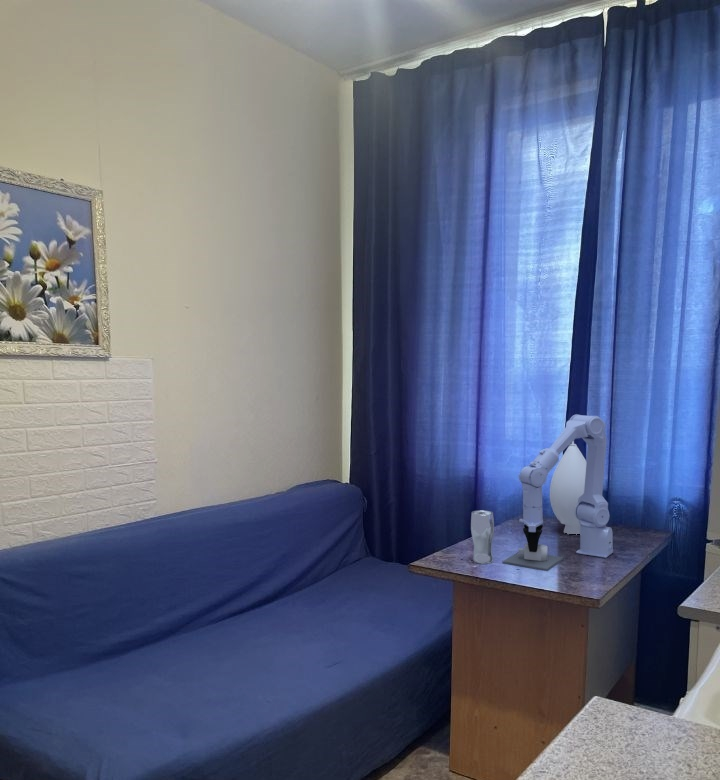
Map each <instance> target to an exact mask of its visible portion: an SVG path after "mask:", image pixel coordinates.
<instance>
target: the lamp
mask: <svg viewBox="0 0 720 780" xmlns="http://www.w3.org/2000/svg"><path fill="white" fill-rule="evenodd" d="M586 463H587V459H586V458H585V457H584V455H583V453H582V452H581V451H580V449H579V447H578V446H577V444H576V443H575V440H574V441H573V442H572V443H571V444H570V445H569V446H568V447H567V449H566V450H565V451H564V453H563V455H562V456H561V458H560V459H559V461H558V463H557V464H556V465H557V466H556V468H555V469H554V472H553V475H552V477H551V481H550V485H549V501H550V505H551V509H552V511H553V513H554V515H555V517H556V519H557V520H558V521H559V523H560V524H562V525H565V526H564V528H563V533H564V534H565V533H567V534H566V535H569V534H576V535H575V536H578V535H577V534H580V523H579V520H578V519H577V518H576V516H575V508H576V506H577V504H578V498H579V497H580V496H581V495H583V494H584V487H585V475H586ZM590 504H591V503H590Z"/></svg>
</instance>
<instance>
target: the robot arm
mask: <svg viewBox="0 0 720 780" xmlns="http://www.w3.org/2000/svg"><path fill="white" fill-rule="evenodd" d="M606 436H607V435H606V422H605V421H604V420H603V419H602V418H601V417H600V416H598V415H581V414H577V413H576V414H574V415H572V416H571V417H570V418H569V419H568V420H567V421H566V424H565V427H564V429H563V430H562V432H561V433H560V434H559V435H558V436H557V438H556V439H555V441H554V442H553V443H552V444H551V446H550V447H549V448H548V447H546V448H544V449H541V450H540V451H539V452H538V453H539V454H538V455H537V456H536V457H535V458H534V460H532V461H530V463H529V465H527V466H523V468H522V469H521V470H520V472H519V475H518V480H519V482H520V484H521V488H522V512H523V513H522V514H523V516H522V518H519V519H518V520H519V521H518V522H519V523H523V528H522V531H523V533H524V535H525V538H526V543H528V548H529V551H530V552H537V548H538V544H539V541H540V538H541V535H542V533H543V527H544V525H543V524H544V520H543V517H544V516H543V514H544V512H543V486H544V485H545V484H546V482H547V477H548V475H549V473H550V471H552V469H553V468H554V467H555V466H556V465H558V463H559V462H560V458H559V457H560V455H561V454H562V452H564V451H566V450H567V449H566V448H568V447H569V446H570V444H572V442H573V441H574V442H575V440H577V439H582V440H583V441H584V442H585V444H586V445H587V452H586V453H587V454H586V462H587V463H586V475H585V487H584V494H583V495H581V496H580V497H579V498H578V504H577V506H576V508H575V516H576V518H577V519H578V520H579V523H580V535H579V537H580V539H579V544H580V546H579V549H577V550H576V551H575V553H576V554H579V555H585V556H587V555H588V556H592V557H593V556H594V557H599V558H605V559H607V558H608V557H609V556H610V555H612V553H614V548H613V542H614V541H613V540H614V539H613V537H614V536H613V535H614V534H613V529H612V527H609V526H607V524H608V522H610V521H609V520H610V517H611V516H610V511H609V502H608V501H607V500H606V499H605V497H604V496H603V491H604V477H605V469H606V468H605V466H606V454H607V443H608V441H607V437H606ZM565 449H566V450H565ZM590 503H591V504H590Z"/></svg>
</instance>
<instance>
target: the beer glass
mask: <svg viewBox="0 0 720 780" xmlns="http://www.w3.org/2000/svg"><path fill="white" fill-rule="evenodd" d="M494 520H495V519H494V512H493V511H489V510H483V509H482V510H480V509H479V510H473V511H471V517H470V531H471V532H470V533H471V538H472V542H473V543H472V544H473V558H472V562H474V563H476V564H483V565H486V564H487V565H488V564H491V563H494V562H493V561H494V557H493V553H492V546H493V540H494V533H495V521H494Z"/></svg>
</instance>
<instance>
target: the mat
mask: <svg viewBox="0 0 720 780" xmlns="http://www.w3.org/2000/svg"><path fill="white" fill-rule="evenodd" d="M564 559H565V558H564V557H563V556H558V555H557V556H556V555H552V554H551V555H550V554H547V560H546V561H538V560H527V559H524V554H518V551H517V552H516V553H514V554H512V555H511V556H509V557H507V558H505V559H504V560H502V563H501V564H505V565H512V566H517V567H521V568H528V569H534V570H539V571H544V572H548V571H549V570H551V569H552V568H553V567H555V566H557V565H558V564H560V562H562V561H564Z"/></svg>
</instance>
